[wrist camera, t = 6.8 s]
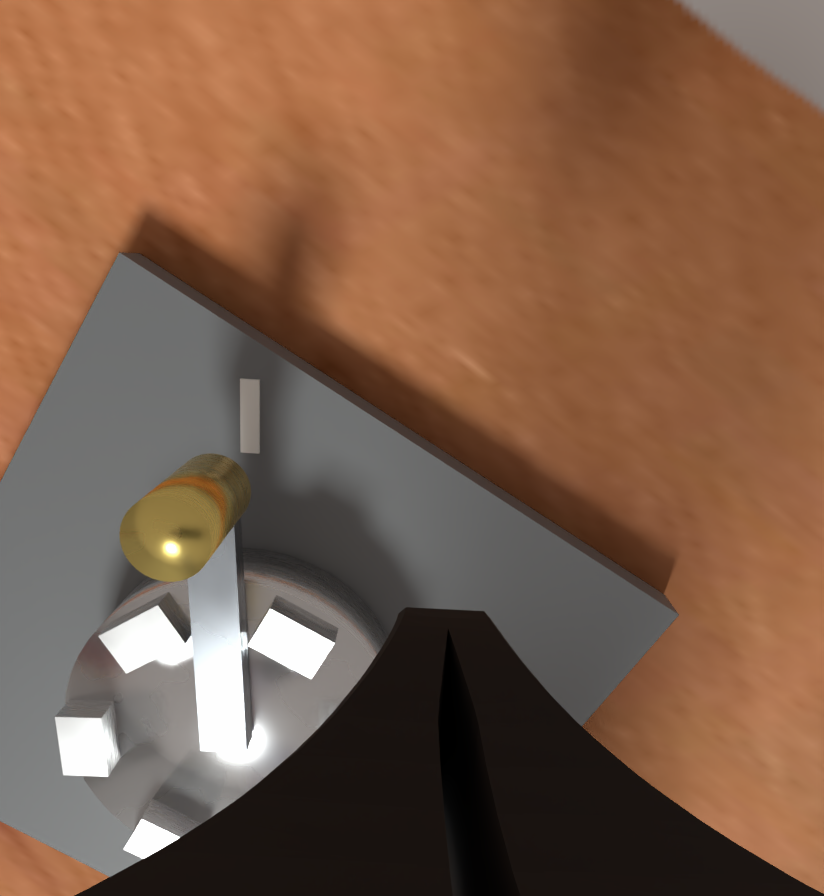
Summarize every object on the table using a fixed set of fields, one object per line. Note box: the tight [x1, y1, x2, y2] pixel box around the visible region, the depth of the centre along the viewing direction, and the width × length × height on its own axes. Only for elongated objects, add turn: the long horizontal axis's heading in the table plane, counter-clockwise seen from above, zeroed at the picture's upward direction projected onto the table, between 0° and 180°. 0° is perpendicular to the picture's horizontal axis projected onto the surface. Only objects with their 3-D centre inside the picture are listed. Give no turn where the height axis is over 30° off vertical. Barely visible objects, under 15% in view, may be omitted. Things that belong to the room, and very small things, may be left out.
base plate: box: [0, 252, 679, 877], centre depth 20 cm, size 18×18×1 cm
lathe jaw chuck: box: [55, 453, 388, 859], centre depth 17 cm, size 12×9×5 cm
